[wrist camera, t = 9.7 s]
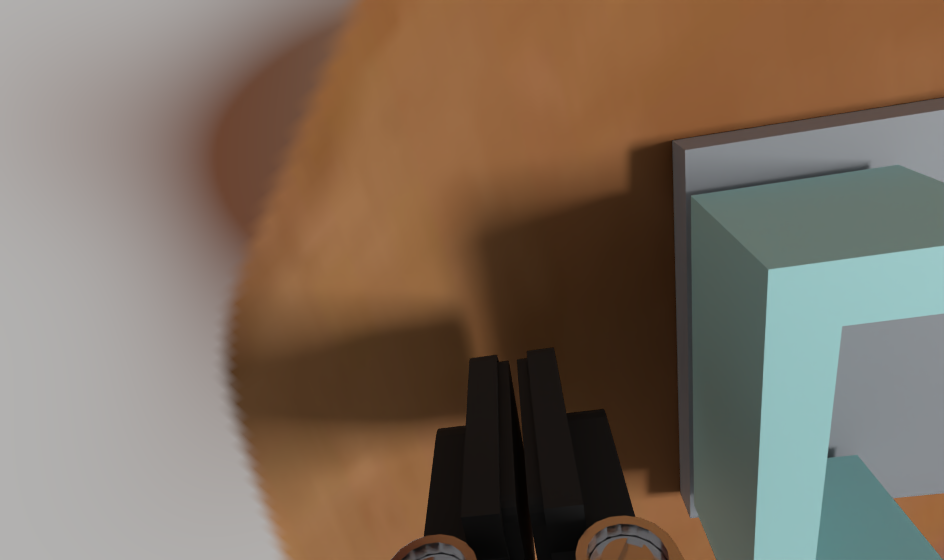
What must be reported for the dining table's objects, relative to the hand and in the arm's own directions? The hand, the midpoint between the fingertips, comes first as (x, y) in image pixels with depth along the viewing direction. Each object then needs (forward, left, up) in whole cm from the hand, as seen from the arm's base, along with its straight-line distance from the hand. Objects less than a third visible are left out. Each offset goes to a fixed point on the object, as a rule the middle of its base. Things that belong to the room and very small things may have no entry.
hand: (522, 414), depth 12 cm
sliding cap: (-5, 0, -1) cm, 5 cm away
